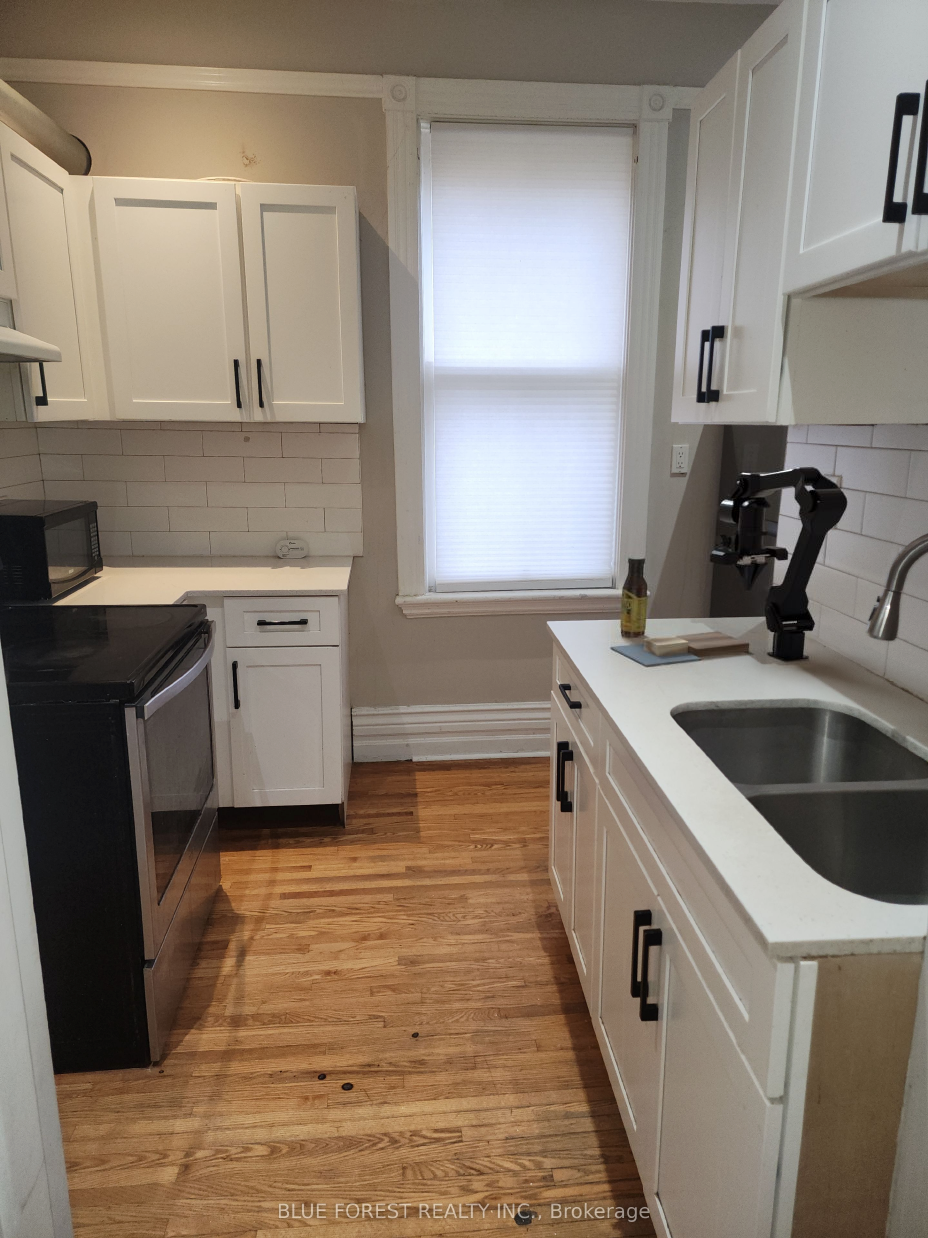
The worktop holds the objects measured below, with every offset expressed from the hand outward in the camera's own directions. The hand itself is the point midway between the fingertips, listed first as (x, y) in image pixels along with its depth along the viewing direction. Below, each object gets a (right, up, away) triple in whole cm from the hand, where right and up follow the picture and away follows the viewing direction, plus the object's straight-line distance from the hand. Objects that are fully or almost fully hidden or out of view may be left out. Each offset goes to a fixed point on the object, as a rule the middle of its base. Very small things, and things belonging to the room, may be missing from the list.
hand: (747, 590), depth 196 cm
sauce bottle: (-26, -11, +8) cm, 29 cm away
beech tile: (-22, -13, -9) cm, 27 cm away
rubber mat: (-25, -15, -9) cm, 30 cm away
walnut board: (-11, -14, -5) cm, 18 cm away
